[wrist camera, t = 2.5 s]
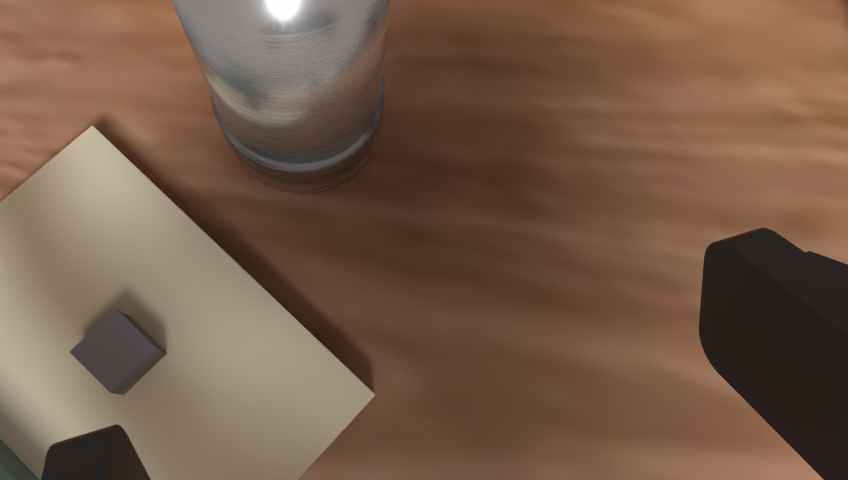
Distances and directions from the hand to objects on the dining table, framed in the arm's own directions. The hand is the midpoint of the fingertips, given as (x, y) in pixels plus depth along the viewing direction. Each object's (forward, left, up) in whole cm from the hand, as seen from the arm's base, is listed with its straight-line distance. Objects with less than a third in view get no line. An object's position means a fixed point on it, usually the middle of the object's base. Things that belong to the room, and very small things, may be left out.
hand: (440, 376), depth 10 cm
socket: (-5, -9, -13) cm, 16 cm away
